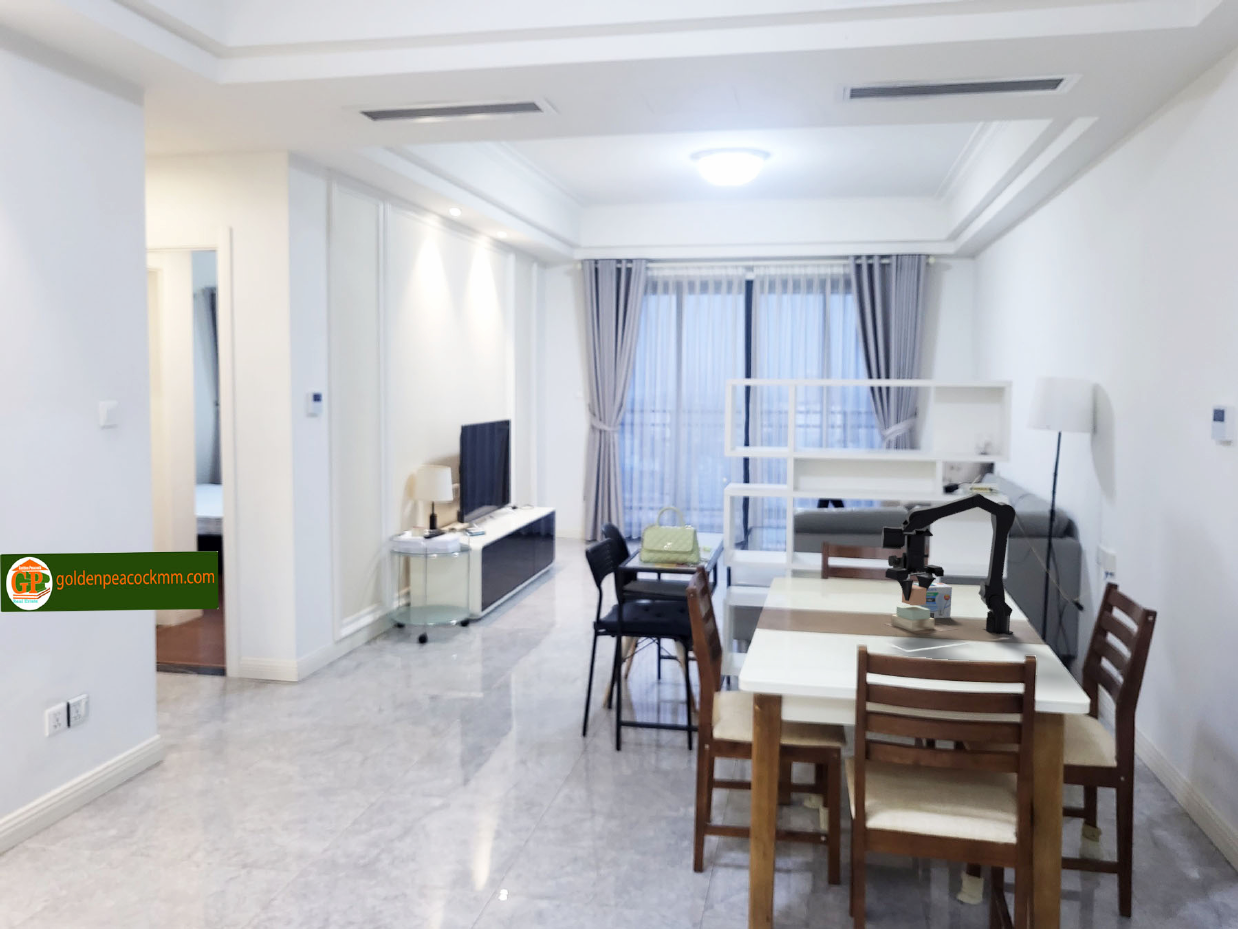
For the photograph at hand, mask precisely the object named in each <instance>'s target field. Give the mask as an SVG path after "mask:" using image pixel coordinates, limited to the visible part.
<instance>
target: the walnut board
mask: <svg viewBox="0 0 1238 929" xmlns="http://www.w3.org/2000/svg"><path fill="white" fill-rule="evenodd" d="M885 625H886V626H889V627H892V628H895V629H898V630H901V631H904V632H906V633H909V634H913V635H916V636H918V635H922V634H923V635H924V634H932V633H939V632H947V631H955V630H958V628H956V627H953V626H949V625H946V624H944V623H939V622H936V621H935V622H934V629H926V630H918V631H909V630H906V629H903V628H900V627H897V626H894V625H891V622H888V623H885Z"/></svg>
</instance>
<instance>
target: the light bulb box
mask: <svg viewBox="0 0 1238 929" xmlns="http://www.w3.org/2000/svg"><path fill="white" fill-rule="evenodd" d="M913 585H916V586H919V582H918V583H917V582H916V583H915V582H913ZM952 590H953V587H952V586H950V585H948V584H946V583H943V582H932V584H931V585H930V587H929V588H928V590H927V592H926V604H924V605H917V606H920V607H924V608H927V609H930V618H934V619H951V614H952V613H951V610H952V607H951V606H952V592H953V591H952Z"/></svg>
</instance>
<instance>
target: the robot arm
mask: <svg viewBox="0 0 1238 929" xmlns="http://www.w3.org/2000/svg"><path fill="white" fill-rule="evenodd" d="M975 508H979V509H981V510H982V511H985V512H987V513H989V514H990V521H991V522H990V523H991V527H992V528H991V529H992V538H991V548H990V556H989V563H988V573H987V578H986V579H985V581H982V580H981V581H980V582H979V583H980V584H979V585H980V586H979V588H980V589H979V591H978V595H979V596H980V600H981V601H982V602H983V604H984V605H985V606H986V608H987V610H989V611H987V612H986V613H987V616H986V620H985V623H986V624H985V628H982V631H986V632H989V633H992V634H996V635H1002V634H1004V635H1010V634H1014V631H1011V630H1010V624H1011V614H1012V613H1013V611H1014V610H1013V607H1012V608H1011V606H1010V605H1008V603H1007V602H1006V595H1005V594H1006V591H1005V585H1004V581H1003V579H1004V578H1003V577H1004V573H1005V572H1004V570H1005V564H1006V563H1005V561H1006V554H1007V548H1008V547H1007V546H1008V537H1009V533H1010V532H1011V530H1012V528H1013V526H1014V522H1015V518H1016V510H1015V508H1014V507H1013V506H1012V505H1010V504H1008V503H1005V502H1002V501H999V502H995V501H993V500H991V499H989V498H987V497H985V496H984V495H983V494H981V493H978V492H973V493H972V494H969V495H966V496H963V497H960V498H957V499H953V500H951V501H946V502H944V503H941V504H938V505H934V506H921V507H915V508H911V509H909V510H908V511H907V513H906V515H905V516H906V517H905V519H904V521H902V523H901V524H900V525H899V526H898V527H891V526H890V527H889V526H882V532H881V536H880V547H881V550H882V549H883V550H902V548H904V547H905V551H903V552H902V554H901V556H900V557H897V555H889V556H888V560H887V563H888V566H889V567H888V568H887V569H886V570H885V575H884V576H885V578H887V579H891V580H894V581H897V582H898V583H899V586H900V587H901V592H902V591H903V594H904V597H905V600H906V601H909V598H910V595H911V590H912V585H913V583H914V580H913V579H911V577H912V576H915V577H916V579H917V581H918V583H919V586H920V587H924V588H926V592H927V590H928V588H929V587H930V585H931V584H932V583H934V581H936V579H937V578H939V577H940V578H941V577H944V576H945V574H944V573H945V570H944V568H943V567H942V566H940V565H935V564H926V558H927V559H928V558H929V553H926V548H927V537H933V536H934V534H933V533H932V532H931V531H930V529H929V528H928V526H930V525H932V524H934V523H935V522H937V521H938V520H940V519H943V518H946V517H949V516H952V515H956V514H959V513H962V512H966V511H969V510H972V509H975ZM934 575H935V577H933V576H934ZM936 577H937V578H936Z"/></svg>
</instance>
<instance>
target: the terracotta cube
mask: <svg viewBox="0 0 1238 929" xmlns="http://www.w3.org/2000/svg"><path fill="white" fill-rule="evenodd" d="M901 592H902V593H901V603H903V604H906V605H913V606H915V605H924V604H926V588H924V587H920V586H916V585H912V590H911V595H910V598H909V601H906V600H905V597H904V594H903V591H902V590H901Z"/></svg>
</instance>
